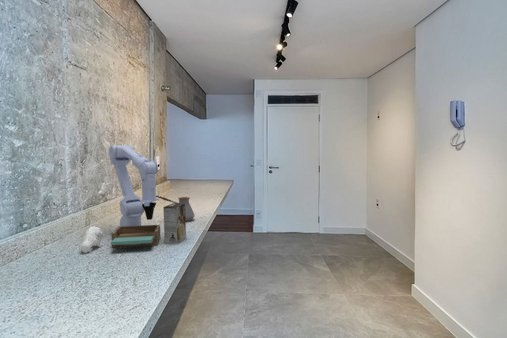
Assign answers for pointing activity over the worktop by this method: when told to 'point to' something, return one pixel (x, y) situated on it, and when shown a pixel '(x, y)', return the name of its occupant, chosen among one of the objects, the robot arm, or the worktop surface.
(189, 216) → the coffee pot
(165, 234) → the coffee box
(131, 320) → the worktop surface
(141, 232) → the brown wooden open box
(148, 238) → the panel
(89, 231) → the white rounded lump
